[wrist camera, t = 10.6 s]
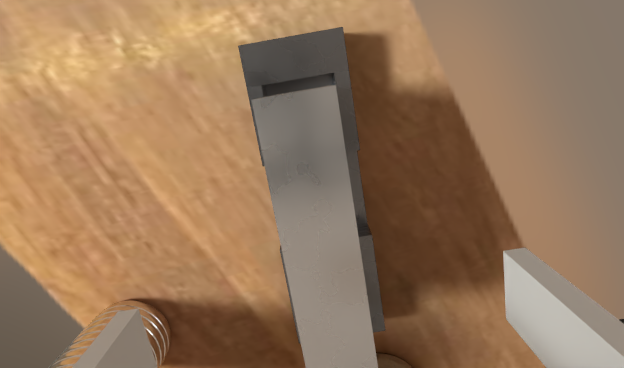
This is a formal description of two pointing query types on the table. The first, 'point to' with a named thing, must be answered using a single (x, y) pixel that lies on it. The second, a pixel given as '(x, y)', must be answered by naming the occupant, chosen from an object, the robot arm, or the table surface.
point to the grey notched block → (317, 225)
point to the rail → (334, 71)
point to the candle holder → (390, 361)
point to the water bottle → (150, 316)
